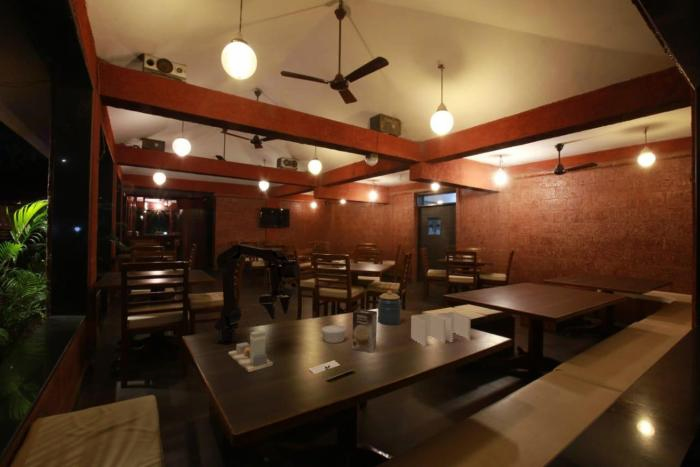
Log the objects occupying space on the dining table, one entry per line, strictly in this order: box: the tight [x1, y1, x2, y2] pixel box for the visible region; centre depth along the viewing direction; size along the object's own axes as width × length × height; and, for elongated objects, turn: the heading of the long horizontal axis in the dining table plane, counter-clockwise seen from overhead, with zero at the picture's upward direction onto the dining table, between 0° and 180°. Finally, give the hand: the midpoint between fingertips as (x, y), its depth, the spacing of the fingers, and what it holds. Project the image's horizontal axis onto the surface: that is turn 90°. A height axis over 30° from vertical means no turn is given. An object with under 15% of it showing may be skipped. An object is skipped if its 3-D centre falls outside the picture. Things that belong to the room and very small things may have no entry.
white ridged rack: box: [235, 342, 268, 367], centre depth 121 cm, size 18×5×3 cm, turn 40°
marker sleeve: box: [249, 329, 266, 364], centre depth 116 cm, size 3×4×11 cm
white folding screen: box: [410, 311, 471, 347], centre depth 148 cm, size 25×11×11 cm, turn 111°
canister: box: [377, 290, 402, 326], centre depth 176 cm, size 13×13×18 cm
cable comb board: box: [228, 349, 274, 373], centre depth 122 cm, size 20×9×1 cm, turn 40°
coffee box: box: [351, 308, 378, 354], centre depth 135 cm, size 9×6×16 cm
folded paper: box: [308, 360, 355, 381], centre depth 112 cm, size 12×12×2 cm
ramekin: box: [321, 324, 347, 344], centre depth 146 cm, size 11×11×5 cm
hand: (279, 316), depth 132 cm, fingers open, 9 cm apart
